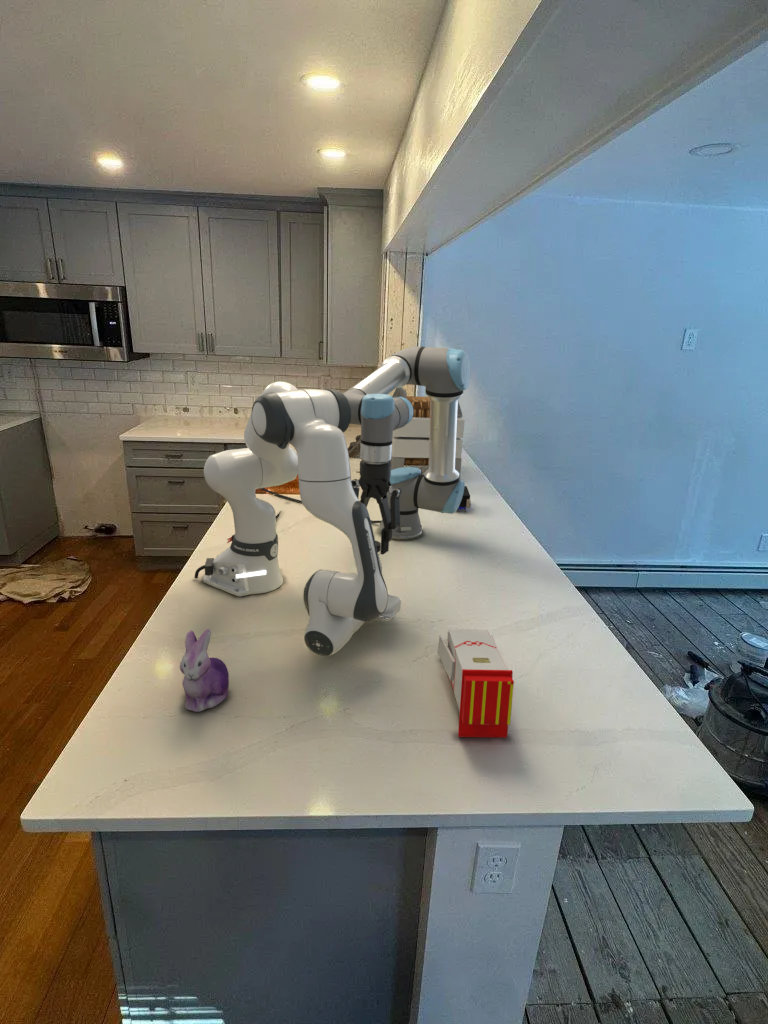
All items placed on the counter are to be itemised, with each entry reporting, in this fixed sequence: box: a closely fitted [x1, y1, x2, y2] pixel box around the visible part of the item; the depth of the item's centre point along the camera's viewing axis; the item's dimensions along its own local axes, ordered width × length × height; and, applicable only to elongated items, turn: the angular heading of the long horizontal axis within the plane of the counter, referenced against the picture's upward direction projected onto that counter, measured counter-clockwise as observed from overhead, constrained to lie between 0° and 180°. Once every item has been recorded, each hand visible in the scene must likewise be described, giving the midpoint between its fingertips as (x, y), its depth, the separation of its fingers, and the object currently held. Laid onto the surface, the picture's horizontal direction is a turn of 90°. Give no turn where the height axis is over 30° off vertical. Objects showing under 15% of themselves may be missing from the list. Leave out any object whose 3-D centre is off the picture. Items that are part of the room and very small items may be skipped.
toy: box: [437, 628, 515, 738], centre depth 117 cm, size 12×13×30 cm
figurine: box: [179, 628, 230, 713], centre depth 110 cm, size 9×10×15 cm
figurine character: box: [456, 485, 472, 513], centre depth 228 cm, size 7×8×15 cm
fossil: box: [347, 434, 361, 458], centre depth 305 cm, size 22×10×15 cm
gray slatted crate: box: [390, 387, 465, 480], centre depth 268 cm, size 34×33×41 cm
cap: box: [375, 540, 381, 554], centre depth 143 cm, size 4×4×2 cm
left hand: (372, 587), depth 148 cm, fingers closed on bottle, 5 cm apart
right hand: (372, 548), depth 143 cm, fingers open, 6 cm apart
